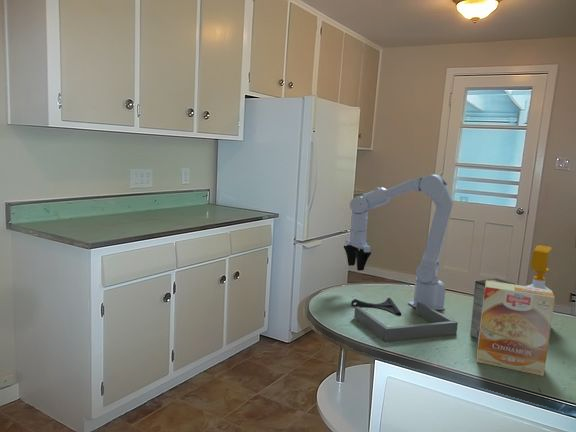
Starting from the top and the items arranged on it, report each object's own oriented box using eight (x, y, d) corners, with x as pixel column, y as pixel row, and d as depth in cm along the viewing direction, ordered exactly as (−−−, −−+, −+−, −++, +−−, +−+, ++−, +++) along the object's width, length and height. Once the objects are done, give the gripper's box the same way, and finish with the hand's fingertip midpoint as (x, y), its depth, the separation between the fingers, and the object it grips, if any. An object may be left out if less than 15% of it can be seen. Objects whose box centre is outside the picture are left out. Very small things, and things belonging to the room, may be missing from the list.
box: (419, 312, 147) (420, 302, 147) (456, 334, 131) (457, 322, 130) (354, 318, 139) (355, 307, 139) (385, 341, 123) (386, 329, 122)
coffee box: (490, 330, 135) (497, 277, 132) (510, 338, 129) (516, 283, 127) (468, 334, 130) (475, 280, 128) (487, 343, 125) (494, 286, 123)
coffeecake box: (476, 362, 113) (484, 286, 110) (476, 351, 119) (485, 279, 117) (544, 377, 107) (555, 296, 104) (541, 364, 113) (552, 289, 111)
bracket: (348, 300, 158) (348, 292, 158) (391, 302, 158) (391, 294, 158) (354, 315, 144) (354, 306, 143) (401, 317, 144) (402, 308, 143)
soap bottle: (553, 324, 142) (564, 247, 139) (545, 332, 136) (556, 251, 132) (522, 316, 148) (531, 242, 145) (513, 323, 142) (523, 245, 138)
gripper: (339, 226, 166) (336, 263, 168) (358, 234, 153) (355, 273, 155) (356, 226, 169) (353, 262, 170) (376, 233, 155) (373, 272, 157)
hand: (355, 267), depth 163 cm, fingers open, 6 cm apart
